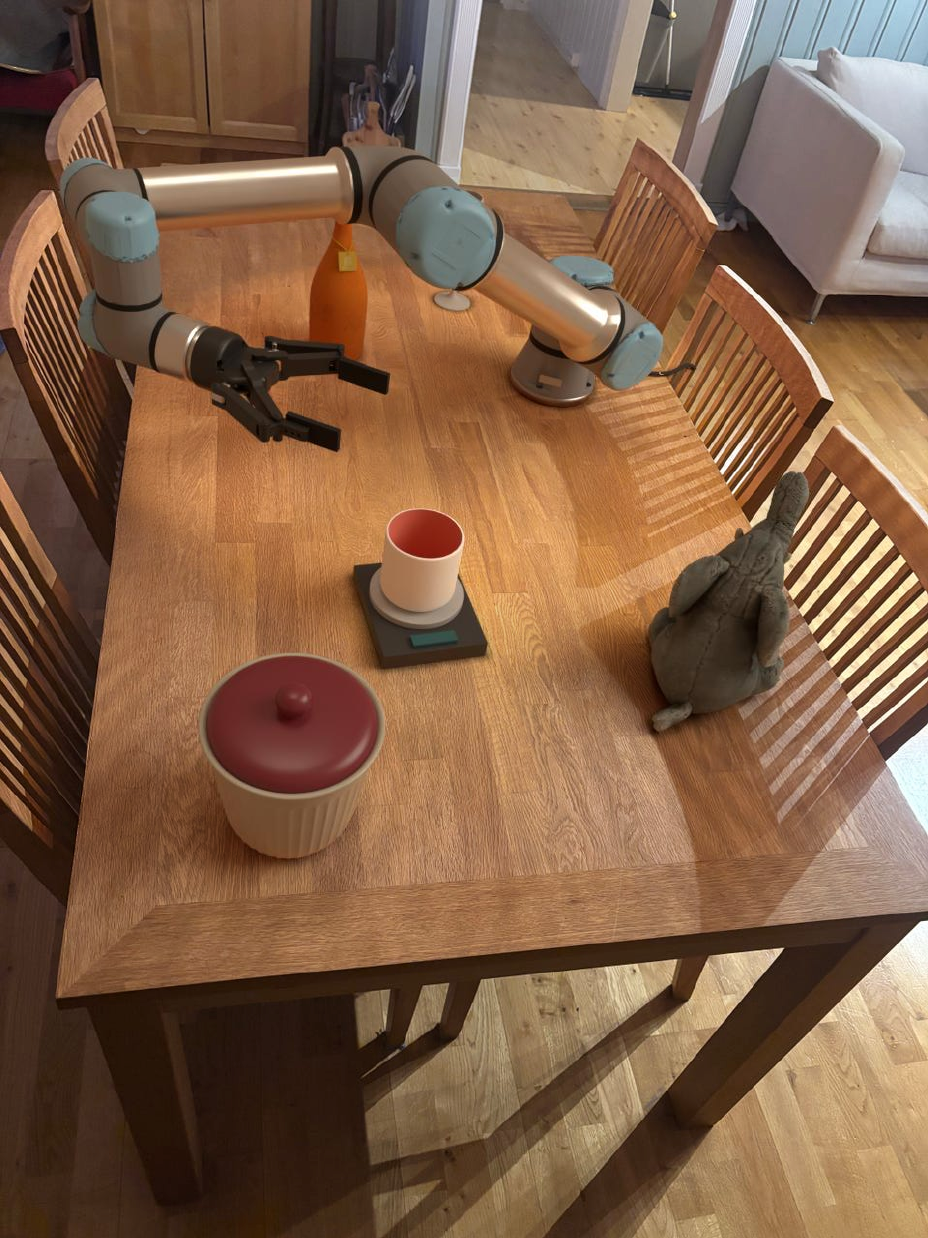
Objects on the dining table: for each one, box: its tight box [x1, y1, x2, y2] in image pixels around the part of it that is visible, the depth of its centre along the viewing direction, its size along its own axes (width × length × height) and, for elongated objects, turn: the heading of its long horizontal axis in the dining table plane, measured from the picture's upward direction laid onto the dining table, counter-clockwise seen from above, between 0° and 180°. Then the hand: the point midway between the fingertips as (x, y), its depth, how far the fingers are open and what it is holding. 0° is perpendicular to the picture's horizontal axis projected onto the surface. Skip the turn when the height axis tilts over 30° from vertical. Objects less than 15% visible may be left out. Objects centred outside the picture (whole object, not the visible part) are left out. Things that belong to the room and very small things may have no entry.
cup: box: [380, 507, 466, 612], centre depth 126 cm, size 10×10×10 cm
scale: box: [352, 562, 489, 670], centre depth 130 cm, size 14×17×3 cm
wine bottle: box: [308, 219, 369, 361], centre depth 163 cm, size 10×10×30 cm
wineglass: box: [433, 188, 485, 312], centre depth 185 cm, size 8×8×21 cm
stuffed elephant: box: [647, 470, 810, 733], centre depth 122 cm, size 19×21×27 cm
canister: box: [197, 651, 386, 860], centre depth 99 cm, size 18×18×21 cm
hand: (365, 411), depth 113 cm, fingers open, 13 cm apart
